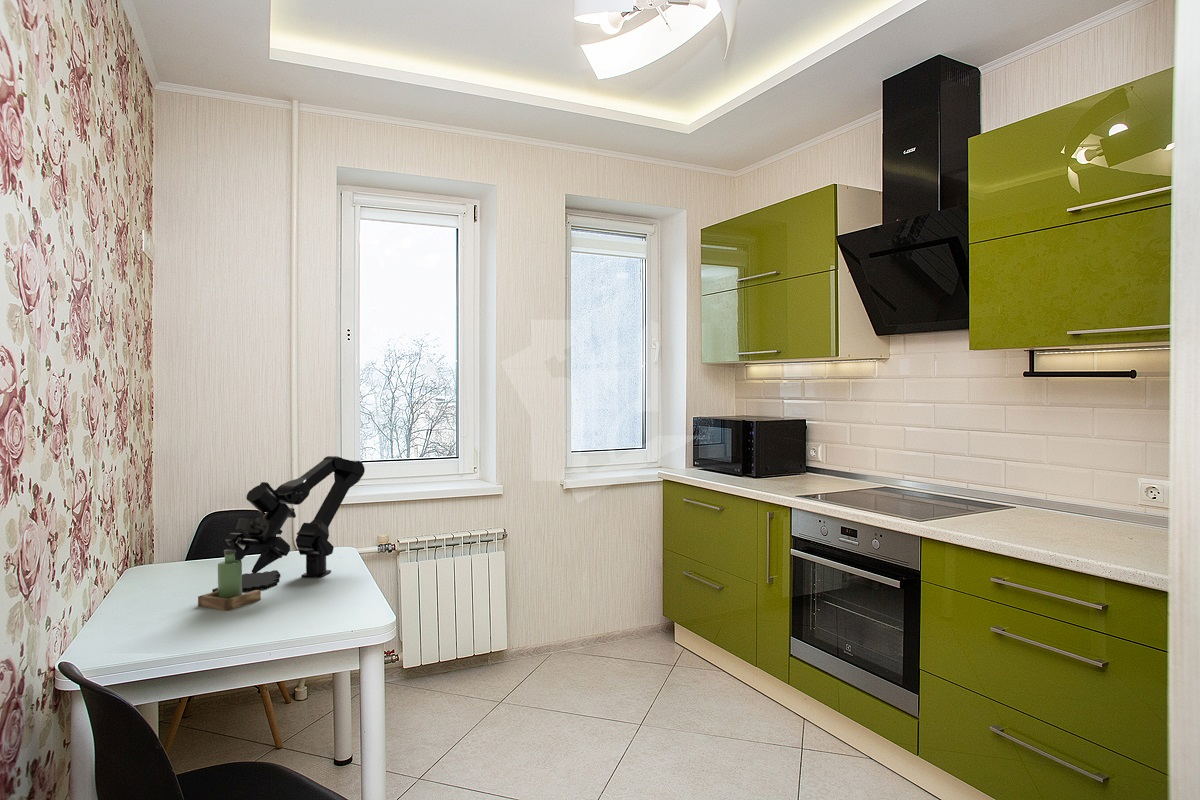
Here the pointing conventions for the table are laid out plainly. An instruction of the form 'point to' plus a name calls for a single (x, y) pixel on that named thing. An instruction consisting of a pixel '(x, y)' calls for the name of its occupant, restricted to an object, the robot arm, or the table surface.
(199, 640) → the table surface
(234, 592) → the bottle
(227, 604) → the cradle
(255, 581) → the decorative item
